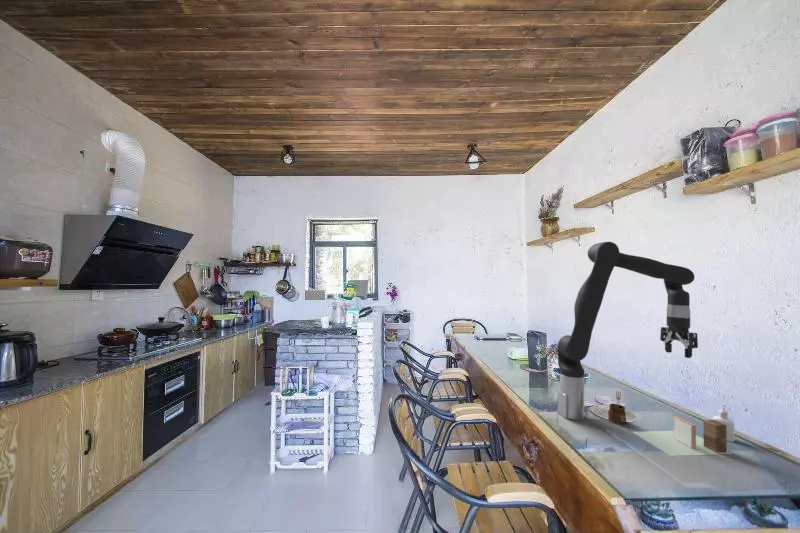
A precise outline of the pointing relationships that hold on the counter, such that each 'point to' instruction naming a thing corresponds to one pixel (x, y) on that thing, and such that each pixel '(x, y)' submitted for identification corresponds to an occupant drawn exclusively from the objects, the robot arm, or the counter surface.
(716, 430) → the block
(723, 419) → the eye dropper bottle
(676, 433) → the tile
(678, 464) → the counter surface
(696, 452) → the mat
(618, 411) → the utensil holder
